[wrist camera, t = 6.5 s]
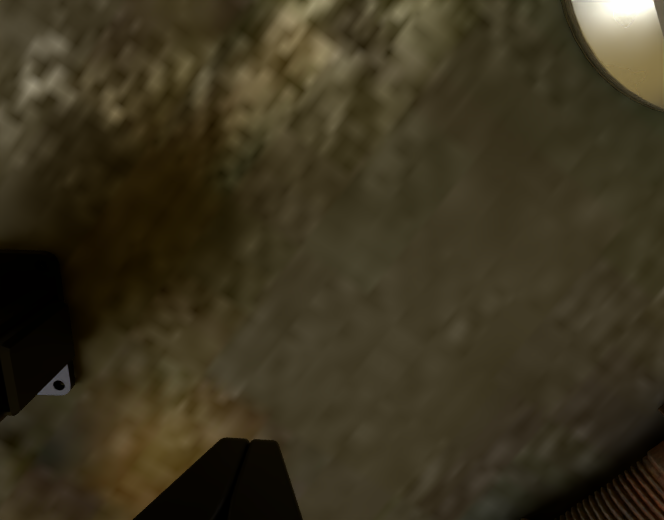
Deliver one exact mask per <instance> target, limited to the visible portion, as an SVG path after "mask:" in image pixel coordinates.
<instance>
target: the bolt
mask: <svg viewBox="0 0 664 520" xmlns="http://www.w3.org/2000/svg"><path fill="white" fill-rule="evenodd" d="M658 410H659V411H660V412H661V413H662V415H663V416H664V405H663V406H661V407H660V408H659V409H658ZM636 464H637V468H636V467H634V466H630V469H631V472H629V471H627V470H625V471H624V474H625V476H623V475H621V474H619V475H618V478H619V480H617V479H615V478H614V479H612V480H613V484H612V483H607V488H605V487H601V493H600V492H598V491H595V492H594V494H595V496H593V495H589V496H588V498H589V500H587V499H583V501H582V502H583V504H582V503H577V508H575V507H572V508H571V512H569V511H566V513H565V516H564V515H560V520H664V440H663V441H662V442H660V443H659V444H658V445H656V446H655V447H653V448H652V449H651V450H649V451H648V452H647V455H646V456H645V457H643V458H642V462H639V461H638V462H636ZM520 520H529V519H526V518H522V519H520ZM555 520H558V519H555Z"/></svg>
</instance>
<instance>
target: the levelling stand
mask: <svg viewBox="0 0 664 520" xmlns="http://www.w3.org/2000/svg"><path fill="white" fill-rule="evenodd" d="M561 3H562V7H563V11H564V15H565V18H566V20H567V22H568V25H569V27H570V29H571V32H572V34H573V37H574V39H575V41H576V42H577V44H578V46H579V47H580V49H581V51H582V52H583V54H584V56H585V57H586V59H587V60H588V61H589V62H590V64H591V65H592V66H593V67H594V68H595V70H596V71H597V72H598V73H599V75H600V76H602V77H603V78H604V79H605V80H606V81H607V82H608V83H609V84H610V85H612V86H613V87H614V88H615V89H616V90H618V91H619V92H621V93H622V94H624V95H625V96H627V97H629V98H630V99H632V100H633V101H635V102H637V103H640V104H642V105H644V106H647V107H649V108H651V109H653V110H657V111H661V112H664V37H663V33H662V30H661V26H660V23H659V19H658V16H657V12H656V9H655V5H654V2H653V0H561Z"/></svg>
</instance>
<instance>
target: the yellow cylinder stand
mask: <svg viewBox="0 0 664 520" xmlns="http://www.w3.org/2000/svg"><path fill="white" fill-rule="evenodd" d="M653 2H654V5H655V9H656V12H657V16H658V19H659V23H660V26H661V30H662V33H663V37H664V0H653Z"/></svg>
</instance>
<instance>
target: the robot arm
mask: <svg viewBox="0 0 664 520" xmlns="http://www.w3.org/2000/svg"><path fill="white" fill-rule="evenodd" d="M40 260H43V261H44V262H46V264H47V266H48V267H47V269H46V268H44V267H43V266H41V263H40ZM74 356H75V354H74V347H73V339H72V332H71V325H70V317H69V310H68V305H67V304H66V303H65V301H64V296H63V289H62V282H61V275H60V267H59V262H58V259H57V258H56V257H55V255H53V254H52V253H50V252H46V251H27V250H1V249H0V422H1V421H2V420H3V419H4V418H5V417H6V416H7V415H8V416H15V415H16V414H18V413H19V412H20V411H21V410H22V409H23V408H24V407H25V406H26V405H27V404H28V403H29V402H30V401H31V400H32V399H33V398H34V397H35V396H36V395H65V394H67V393H68V392H69V391H70V390H71V389H72V388H73V386H74V385H75V376H74V369H73V362H72V359H73V358H74ZM58 380H60V381H62V382H63V383H64V384H65V385H61V384H60V383H59V382H58ZM133 520H303V519H302V515H301V512H300V509H299V506H298V503H297V500H296V497H295V494H294V490H293V487H292V484H291V481H290V478H289V475H288V472H287V469H286V466H285V462H284V459H283V456H282V453H281V450H280V447H279V444H278V443H277V442H276V441H274V440H260V439H254V440H252V441H251V442H250V443H249V441H248V440H247V439H243V438H222V439H220V440H219V441H218V442H217V443H216V444H215V445H214V446H213V447H212V448H210V449H209V450H208V451H207V452H206V453H205V454H204V455H203V456H202V457H201V458H200V459H198V460H197V461H196V462H195V463H194V464H193V465H192V466H191V467H190V468H189V469H187V470H186V471H185V472H184V473H183V474H182V475H181V476H180V477H179V478H178V479H177V480H175V481H174V482H173V483H172V484H171V485H170V486H169V487H168V488H167V489H166V490H165V491H163V492H162V493H161V494H160V495H159V496H158V497H157V498H156V499H155V500H154V501H152V502H151V503H150V504H149V505H148V506H147V507H146V508H145V509H144V510H143V511H142V512H140V513H139V514H138V515H137V516H136V517H135V518H134V519H133Z"/></svg>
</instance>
